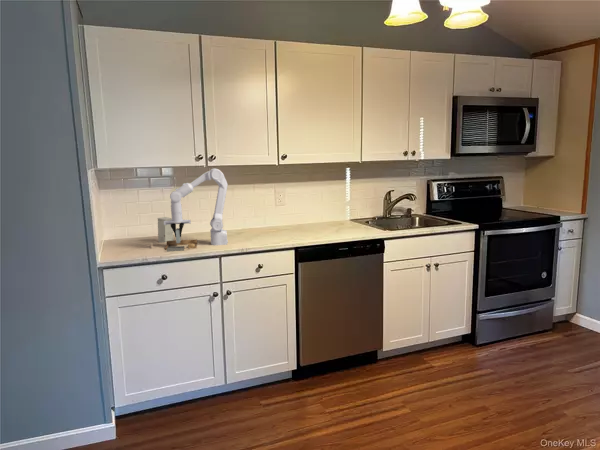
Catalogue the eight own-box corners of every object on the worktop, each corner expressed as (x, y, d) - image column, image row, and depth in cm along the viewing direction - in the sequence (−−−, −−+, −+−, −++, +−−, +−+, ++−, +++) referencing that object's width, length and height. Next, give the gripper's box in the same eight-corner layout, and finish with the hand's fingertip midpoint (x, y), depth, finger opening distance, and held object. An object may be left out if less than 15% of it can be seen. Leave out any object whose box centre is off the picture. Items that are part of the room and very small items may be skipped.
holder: (184, 250, 249) (184, 246, 249) (184, 252, 245) (184, 247, 244) (167, 251, 247) (167, 247, 247) (167, 253, 243) (166, 248, 243)
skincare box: (158, 242, 273) (156, 217, 270) (166, 240, 277) (165, 216, 275) (165, 244, 267) (164, 219, 265) (174, 242, 272) (173, 217, 269)
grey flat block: (180, 240, 258) (179, 228, 257) (179, 243, 250) (179, 230, 249) (177, 240, 258) (176, 228, 256) (176, 243, 250) (175, 230, 249)
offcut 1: (193, 246, 255) (193, 243, 255) (194, 247, 252) (194, 244, 252) (188, 246, 254) (187, 243, 254) (188, 247, 251) (188, 245, 251)
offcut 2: (194, 248, 256) (194, 246, 256) (194, 250, 252) (194, 247, 252) (188, 249, 255) (188, 246, 255) (188, 250, 251) (188, 247, 251)
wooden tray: (197, 245, 262) (196, 239, 262) (196, 249, 251) (196, 243, 250) (167, 246, 259) (166, 240, 259) (165, 251, 247) (164, 245, 247)
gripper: (190, 211, 256) (191, 234, 259) (163, 212, 253) (165, 236, 256) (189, 212, 249) (191, 237, 252) (162, 214, 247) (164, 238, 249)
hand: (178, 236), depth 253 cm, fingers closed on grey flat block, 2 cm apart
